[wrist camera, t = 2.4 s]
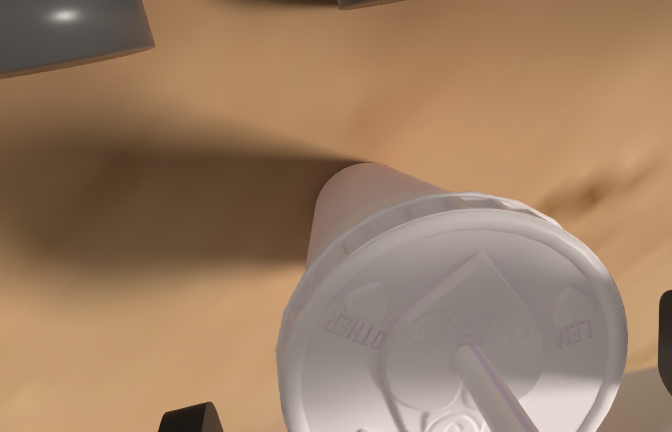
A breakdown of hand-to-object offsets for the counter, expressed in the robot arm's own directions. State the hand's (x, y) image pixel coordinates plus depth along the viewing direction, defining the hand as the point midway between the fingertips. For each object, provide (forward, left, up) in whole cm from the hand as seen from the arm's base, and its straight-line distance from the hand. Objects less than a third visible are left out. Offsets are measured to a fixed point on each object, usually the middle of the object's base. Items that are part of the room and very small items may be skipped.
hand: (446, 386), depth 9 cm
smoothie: (0, 0, -10) cm, 10 cm away
